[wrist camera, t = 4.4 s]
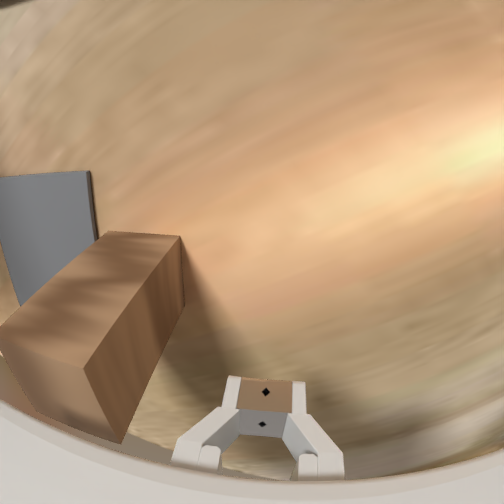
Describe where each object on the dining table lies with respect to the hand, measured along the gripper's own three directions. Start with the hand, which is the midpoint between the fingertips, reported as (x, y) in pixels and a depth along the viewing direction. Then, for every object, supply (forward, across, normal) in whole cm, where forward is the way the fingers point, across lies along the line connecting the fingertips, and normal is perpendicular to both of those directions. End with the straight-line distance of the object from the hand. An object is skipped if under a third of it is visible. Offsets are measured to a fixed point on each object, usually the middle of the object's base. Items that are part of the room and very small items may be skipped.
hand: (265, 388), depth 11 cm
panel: (+8, +17, 0) cm, 19 cm away
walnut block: (+8, +8, 0) cm, 12 cm away
